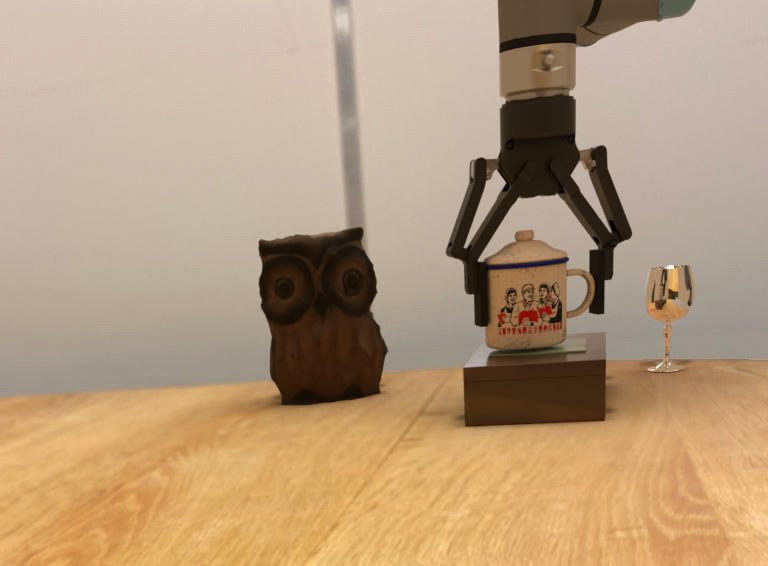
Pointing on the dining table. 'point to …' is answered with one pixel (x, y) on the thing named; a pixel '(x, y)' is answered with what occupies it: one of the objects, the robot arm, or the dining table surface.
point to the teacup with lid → (530, 294)
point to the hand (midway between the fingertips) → (538, 319)
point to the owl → (321, 317)
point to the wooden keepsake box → (537, 383)
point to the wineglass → (668, 302)
